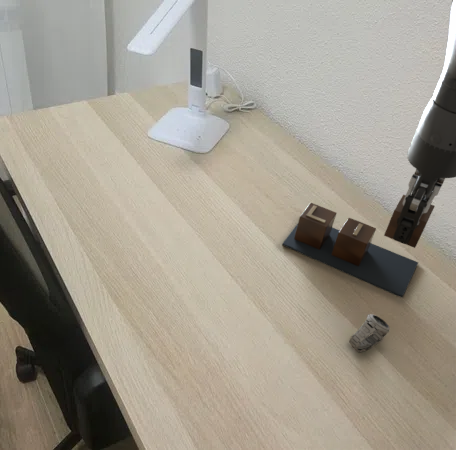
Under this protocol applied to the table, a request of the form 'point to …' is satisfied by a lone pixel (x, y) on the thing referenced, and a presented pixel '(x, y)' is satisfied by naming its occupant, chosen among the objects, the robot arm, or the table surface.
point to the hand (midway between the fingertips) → (405, 230)
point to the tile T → (418, 231)
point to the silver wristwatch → (369, 333)
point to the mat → (362, 263)
